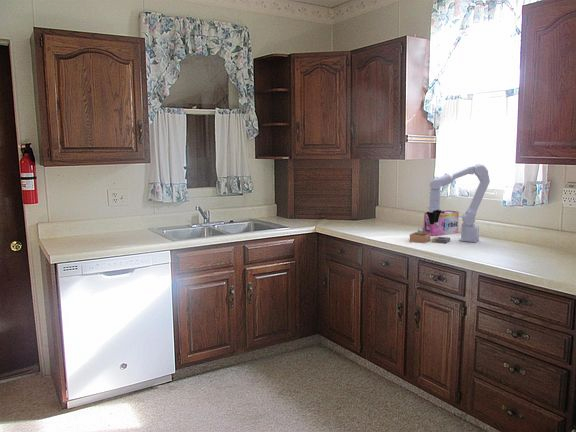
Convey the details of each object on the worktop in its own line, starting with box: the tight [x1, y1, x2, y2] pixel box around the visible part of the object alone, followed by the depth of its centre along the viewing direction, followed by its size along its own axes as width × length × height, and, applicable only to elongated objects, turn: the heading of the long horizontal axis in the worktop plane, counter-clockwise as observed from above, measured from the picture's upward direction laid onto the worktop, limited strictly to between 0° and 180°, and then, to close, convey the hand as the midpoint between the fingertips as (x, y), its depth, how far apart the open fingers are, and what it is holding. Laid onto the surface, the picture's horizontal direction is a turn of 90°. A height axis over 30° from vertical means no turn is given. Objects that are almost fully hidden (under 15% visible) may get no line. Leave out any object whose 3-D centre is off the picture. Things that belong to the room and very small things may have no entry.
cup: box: [409, 231, 432, 244], centre depth 291 cm, size 9×9×4 cm
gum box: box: [422, 210, 460, 237], centre depth 313 cm, size 24×8×14 cm, turn 120°
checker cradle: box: [431, 236, 451, 244], centre depth 288 cm, size 8×8×2 cm
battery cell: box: [417, 226, 424, 235], centre depth 290 cm, size 3×3×8 cm
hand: (433, 223), depth 294 cm, fingers open, 7 cm apart
